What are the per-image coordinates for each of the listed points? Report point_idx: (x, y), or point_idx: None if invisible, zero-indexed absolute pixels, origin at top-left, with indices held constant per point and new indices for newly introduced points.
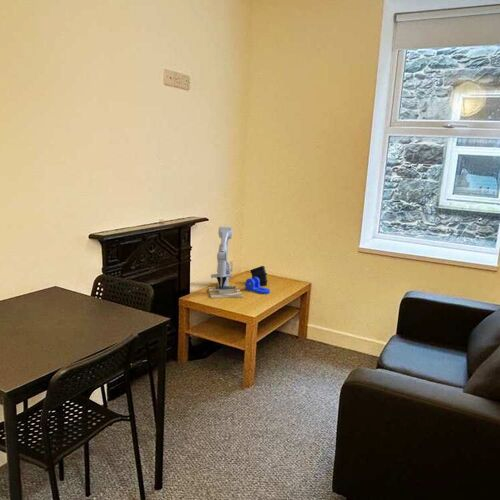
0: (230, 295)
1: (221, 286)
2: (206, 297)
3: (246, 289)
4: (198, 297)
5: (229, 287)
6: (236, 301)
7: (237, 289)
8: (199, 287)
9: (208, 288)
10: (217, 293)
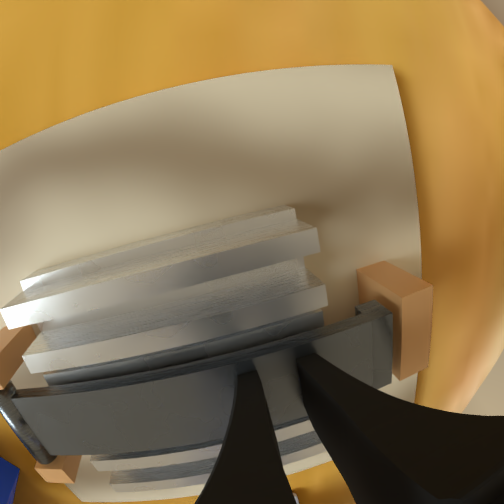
0: (62, 170)
1: None
2: (432, 113)
3: (6, 464)
4: (491, 118)
5: (100, 409)
6: (5, 19)
7: None
8: None
9: None
10: None
